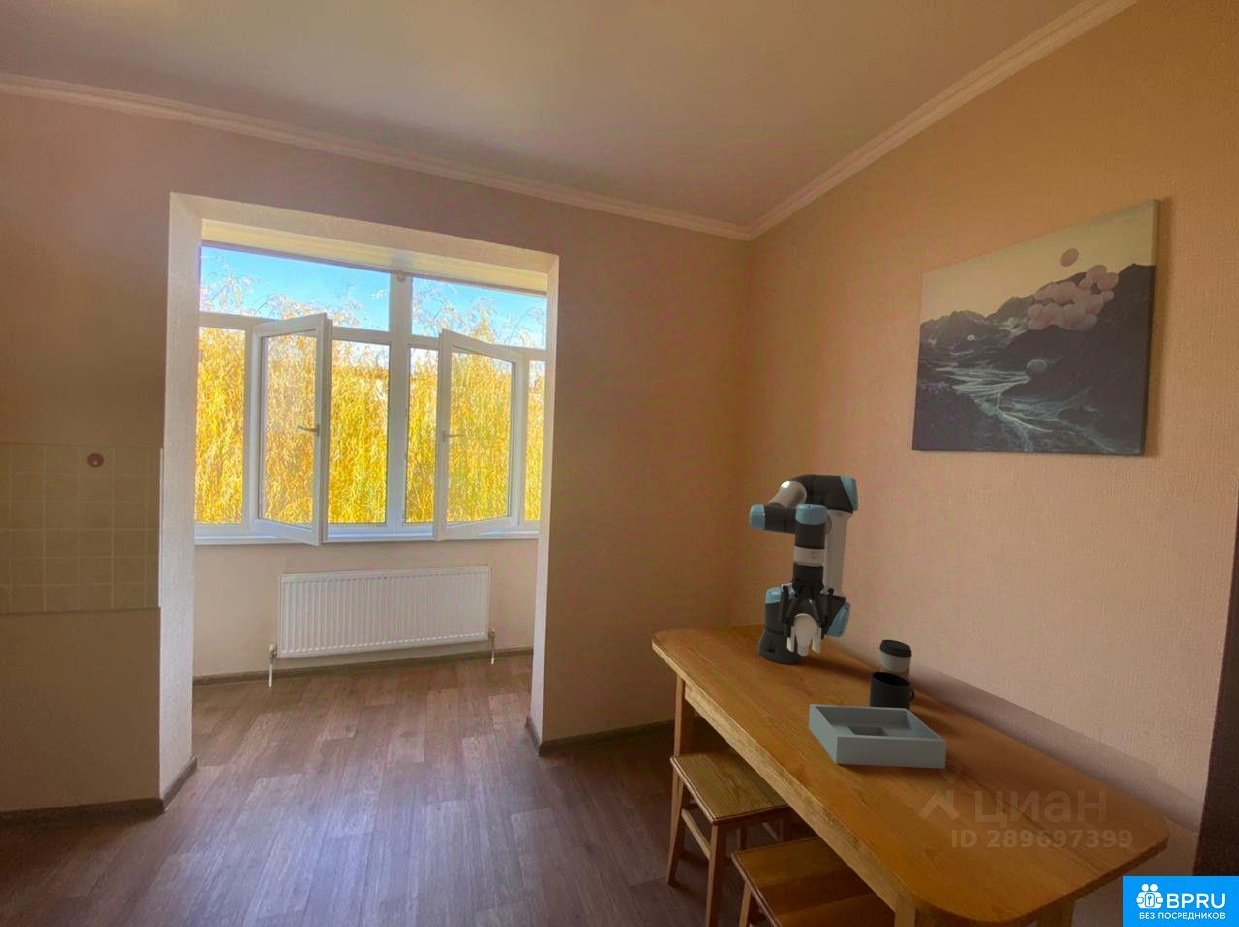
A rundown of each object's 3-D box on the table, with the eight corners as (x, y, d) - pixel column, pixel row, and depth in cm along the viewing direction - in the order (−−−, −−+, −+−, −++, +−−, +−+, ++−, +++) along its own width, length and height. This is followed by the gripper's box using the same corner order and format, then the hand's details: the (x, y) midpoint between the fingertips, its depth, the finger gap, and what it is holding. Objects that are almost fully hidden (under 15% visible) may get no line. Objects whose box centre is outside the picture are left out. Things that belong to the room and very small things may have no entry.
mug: (926, 721, 124) (928, 687, 124) (884, 721, 123) (886, 687, 123) (901, 703, 134) (903, 671, 134) (861, 703, 132) (863, 671, 132)
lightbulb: (784, 652, 126) (787, 611, 126) (803, 649, 128) (805, 609, 128) (802, 662, 120) (804, 619, 120) (821, 659, 122) (823, 617, 122)
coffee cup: (903, 705, 133) (906, 652, 133) (871, 693, 139) (875, 642, 139) (913, 696, 138) (916, 645, 138) (882, 685, 144) (885, 636, 144)
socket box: (808, 727, 118) (810, 704, 118) (904, 732, 118) (906, 708, 118) (835, 763, 104) (837, 736, 104) (944, 768, 104) (946, 741, 104)
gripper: (777, 564, 120) (771, 654, 120) (851, 568, 120) (846, 658, 120) (767, 558, 128) (762, 642, 127) (837, 562, 128) (832, 646, 128)
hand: (803, 650), depth 124 cm, fingers closed on lightbulb, 6 cm apart
